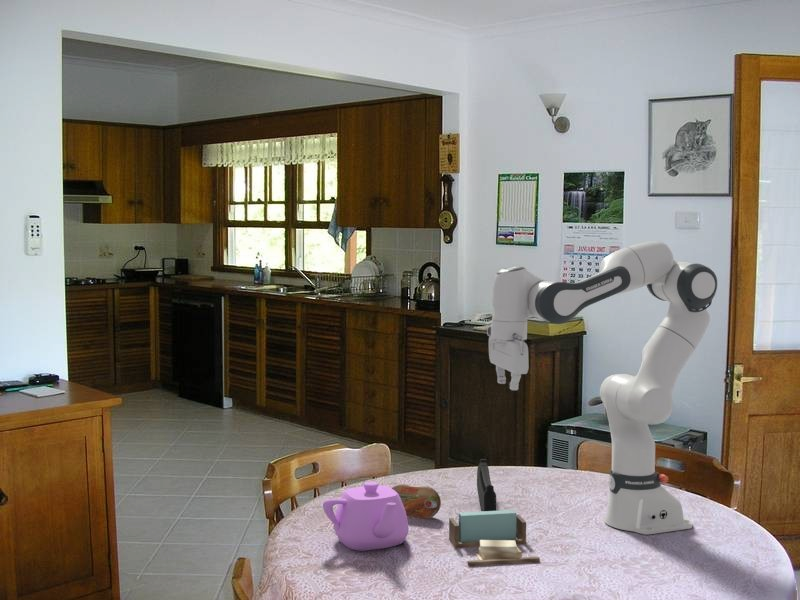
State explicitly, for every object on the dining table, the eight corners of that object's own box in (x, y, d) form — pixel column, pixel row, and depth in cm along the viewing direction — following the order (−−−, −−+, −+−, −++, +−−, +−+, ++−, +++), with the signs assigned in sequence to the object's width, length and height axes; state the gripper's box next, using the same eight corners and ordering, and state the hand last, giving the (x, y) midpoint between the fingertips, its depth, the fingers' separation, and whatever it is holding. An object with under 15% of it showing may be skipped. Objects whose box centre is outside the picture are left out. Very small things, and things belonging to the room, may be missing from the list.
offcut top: (515, 546, 211) (515, 540, 211) (516, 553, 207) (516, 546, 206) (479, 545, 211) (479, 539, 211) (480, 552, 207) (480, 546, 207)
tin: (386, 514, 241) (386, 484, 241) (390, 510, 244) (390, 481, 244) (438, 521, 236) (438, 490, 235) (442, 517, 239) (442, 487, 238)
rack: (518, 537, 223) (518, 514, 223) (541, 564, 206) (542, 539, 205) (449, 541, 220) (449, 518, 220) (466, 568, 203) (466, 543, 202)
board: (513, 541, 221) (513, 509, 221) (515, 544, 219) (516, 512, 218) (458, 544, 219) (458, 512, 218) (460, 547, 216) (461, 515, 216)
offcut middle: (515, 551, 212) (515, 544, 212) (521, 558, 207) (521, 551, 207) (478, 553, 210) (478, 547, 210) (484, 560, 206) (484, 554, 206)
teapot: (312, 538, 222) (312, 479, 221) (390, 527, 231) (390, 470, 229) (343, 570, 201) (343, 506, 200) (427, 557, 210) (427, 495, 209)
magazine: (497, 496, 228) (489, 437, 256) (485, 496, 228) (478, 437, 256) (495, 551, 234) (487, 487, 262) (483, 551, 234) (476, 487, 262)
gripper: (536, 336, 211) (534, 393, 212) (508, 327, 231) (506, 379, 232) (510, 336, 210) (509, 394, 211) (485, 327, 230) (483, 380, 231)
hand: (507, 386), depth 222 cm, fingers open, 8 cm apart
